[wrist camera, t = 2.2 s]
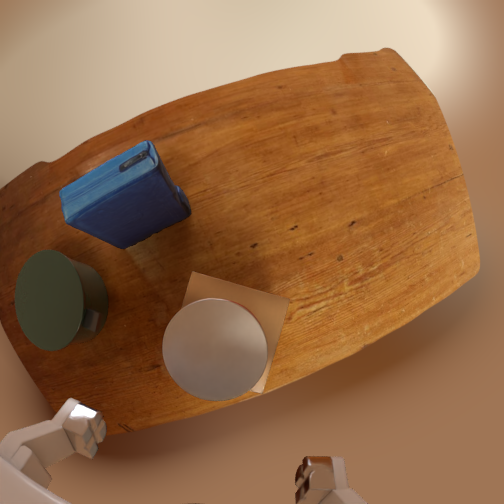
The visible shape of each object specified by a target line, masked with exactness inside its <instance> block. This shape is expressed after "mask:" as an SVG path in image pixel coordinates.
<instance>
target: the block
mask: <svg viewBox="0 0 504 504" xmlns="http://www.w3.org/2000/svg"><path fill="white" fill-rule="evenodd" d="M213 298H215V299H225V300H230V301H233V302H236V303H239V304H241V305H243V306H244V307H246V308H247V309H248V310H250V311H251V312H252V313H253V315H254V316H255V317H256V318H257V320H258V321H259V323H260V324H261V326H262V328H263V331H264V333H265V336H266V339H267V344H268V360H267V364H266V368H265V370H264V373H263V374H262V376H261V378H260V379H259V381H258V382H257V383H256V384H255V386H254V387H253V388H251V389H250V390H249V391H252V392H256V393H261V394H262V393H263V390H264V387H265V384H266V381H267V377H268V374H269V371H270V368H271V364H272V361H273V358H274V354H275V351H276V347H277V344H278V340H279V337H280V334H281V330H282V326H283V323H284V319H285V316H286V312H287V308H288V305H289V301H290V299H289V298H285V297H281V296H278V295H274V294H270V293H267V292H263V291H259V290H256V289H252V288H249V287H245V286H242V285H238V284H235V283H231V282H228V281H224V280H221V279H217V278H214V277H210V276H207V275H204V274H200V273H197V272H194V271H192V273H191V277H190V280H189V283H188V287H187V290H186V294H185V297H184V301H183V304H182V308H184V307H185V306H187V305H188V304H191V303H193V302H195V301H199V300H203V299H213ZM182 308H181V309H182Z"/></svg>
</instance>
